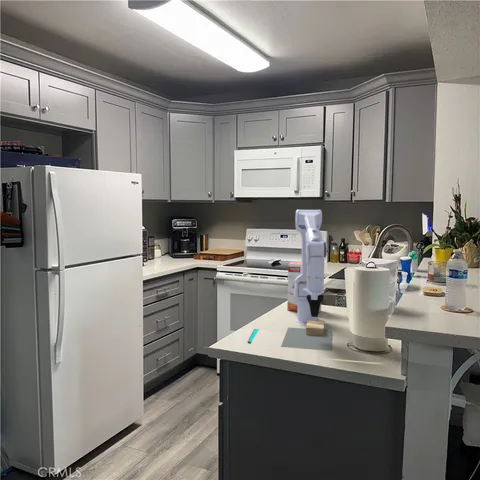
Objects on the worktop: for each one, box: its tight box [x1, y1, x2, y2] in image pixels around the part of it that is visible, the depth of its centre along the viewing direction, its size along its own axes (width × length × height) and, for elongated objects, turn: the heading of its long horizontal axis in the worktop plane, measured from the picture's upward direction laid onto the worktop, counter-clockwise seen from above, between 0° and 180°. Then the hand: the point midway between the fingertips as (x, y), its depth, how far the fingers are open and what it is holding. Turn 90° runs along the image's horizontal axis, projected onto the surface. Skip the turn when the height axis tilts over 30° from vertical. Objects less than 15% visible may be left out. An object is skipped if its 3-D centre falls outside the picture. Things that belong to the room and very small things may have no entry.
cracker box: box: [286, 261, 323, 313], centre depth 181 cm, size 14×6×21 cm, turn 68°
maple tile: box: [305, 320, 325, 336], centre depth 150 cm, size 2×6×10 cm
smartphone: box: [247, 328, 260, 344], centre depth 144 cm, size 7×1×15 cm
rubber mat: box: [280, 327, 333, 352], centre depth 142 cm, size 22×16×1 cm
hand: (314, 316), depth 141 cm, fingers closed
